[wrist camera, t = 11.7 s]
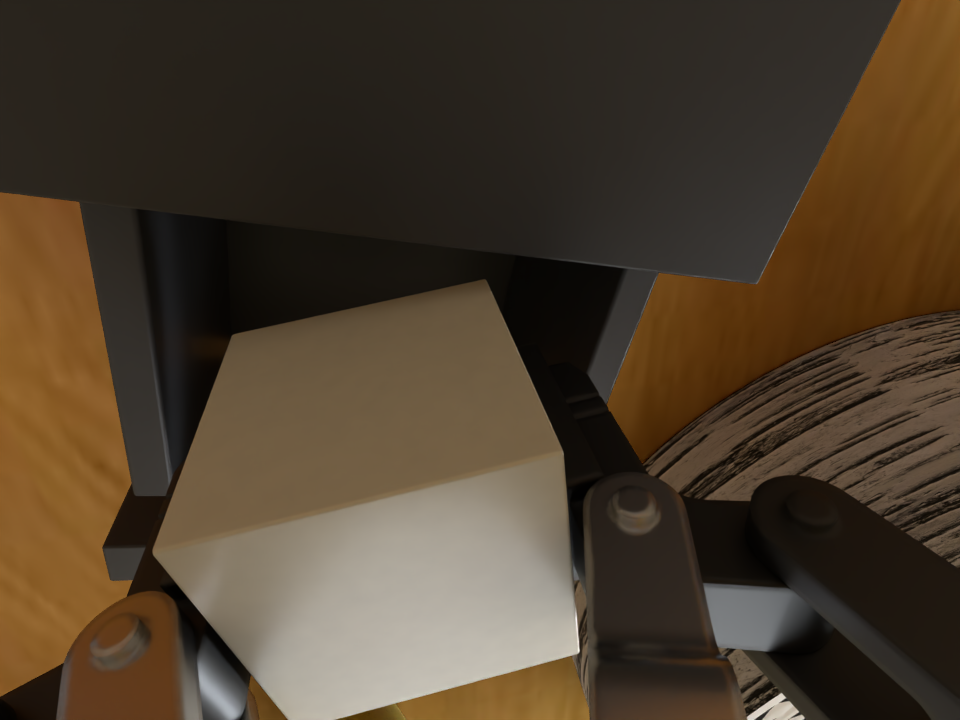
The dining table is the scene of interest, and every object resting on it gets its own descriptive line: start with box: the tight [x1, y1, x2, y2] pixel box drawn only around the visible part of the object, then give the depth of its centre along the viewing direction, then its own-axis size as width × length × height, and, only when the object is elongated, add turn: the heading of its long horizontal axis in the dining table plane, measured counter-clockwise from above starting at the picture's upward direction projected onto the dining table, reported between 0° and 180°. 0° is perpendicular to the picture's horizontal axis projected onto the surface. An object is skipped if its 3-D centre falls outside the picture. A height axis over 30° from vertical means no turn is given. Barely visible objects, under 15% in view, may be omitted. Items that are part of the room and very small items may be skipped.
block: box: [153, 279, 579, 720], centre depth 9 cm, size 4×4×4 cm
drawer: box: [80, 202, 659, 581], centre depth 15 cm, size 18×11×8 cm, turn 168°
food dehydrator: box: [572, 311, 960, 720], centre depth 28 cm, size 38×34×18 cm
